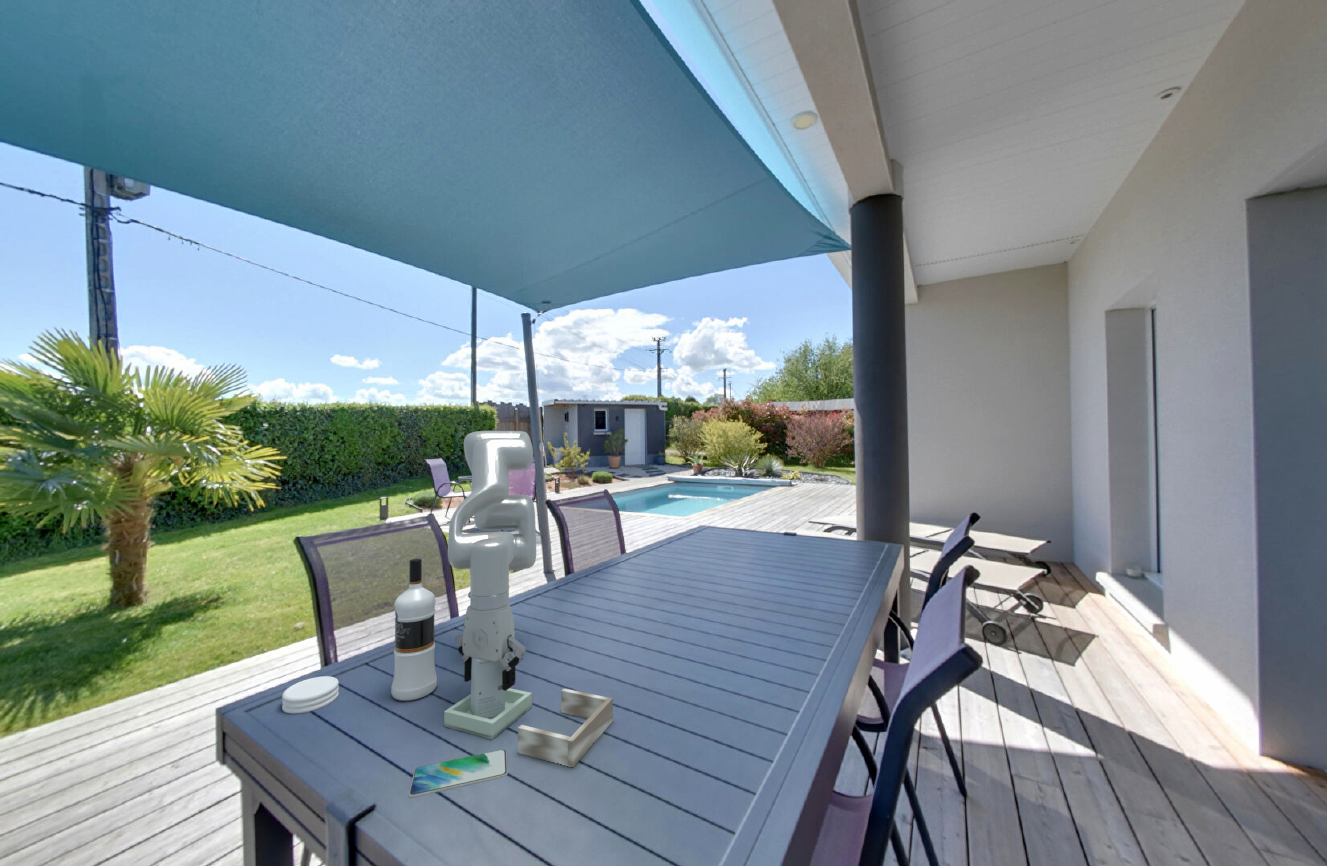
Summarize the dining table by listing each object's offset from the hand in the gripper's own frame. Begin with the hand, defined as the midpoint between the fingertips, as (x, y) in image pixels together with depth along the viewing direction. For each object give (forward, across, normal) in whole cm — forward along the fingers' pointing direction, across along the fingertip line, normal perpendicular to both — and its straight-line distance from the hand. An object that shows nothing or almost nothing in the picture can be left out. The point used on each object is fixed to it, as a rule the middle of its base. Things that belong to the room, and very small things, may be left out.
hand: (489, 683), depth 99 cm
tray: (+7, 0, 0) cm, 7 cm away
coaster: (+7, -41, -9) cm, 42 cm away
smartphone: (+7, +8, -16) cm, 19 cm away
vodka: (+7, -23, +2) cm, 24 cm away
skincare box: (+6, 0, 0) cm, 6 cm away
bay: (+7, +19, 0) cm, 20 cm away
